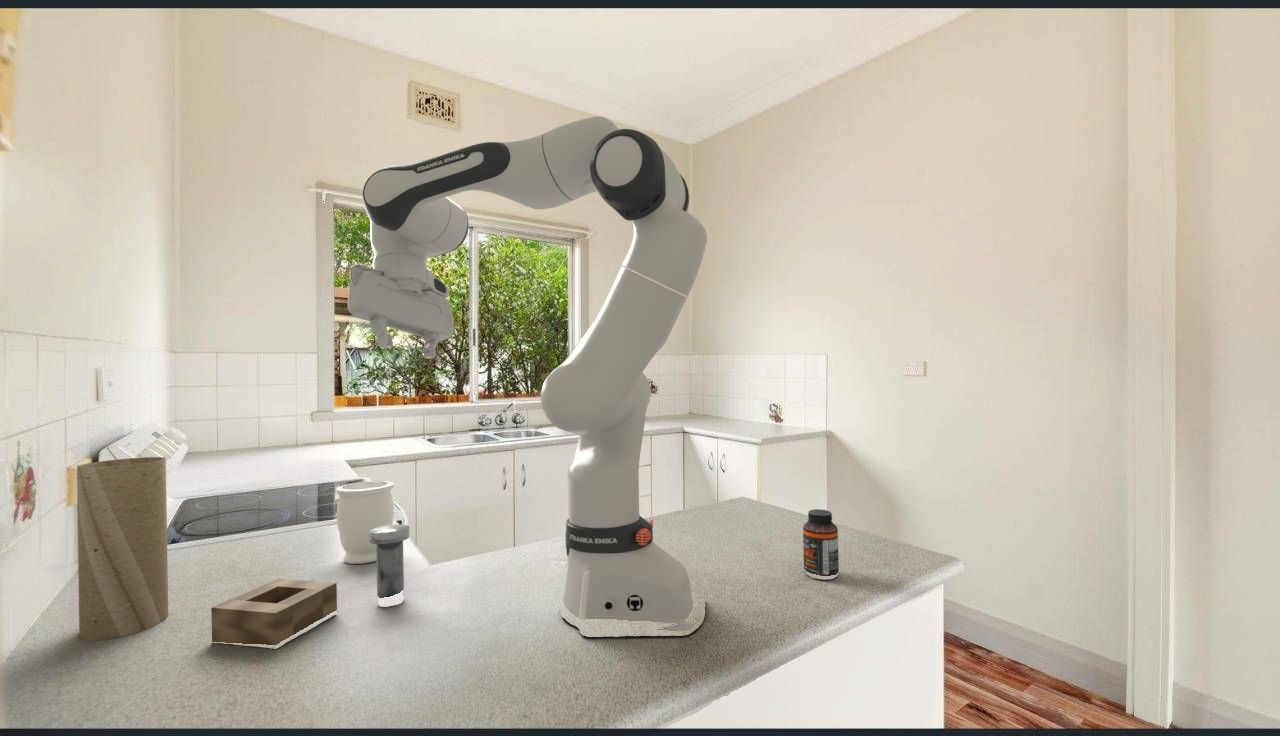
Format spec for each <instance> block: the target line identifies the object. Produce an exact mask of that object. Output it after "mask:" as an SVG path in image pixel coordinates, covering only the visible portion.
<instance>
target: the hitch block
mask: <svg viewBox="0 0 1280 736" xmlns="http://www.w3.org/2000/svg"><path fill="white" fill-rule="evenodd" d="M337 587H338V586H337V582H333V581H332V582H330V581H317V580H315V581H314V580H301V579H286V578H277V579H275V580H272V581H270V582H268V583H265V584H263V585H260V586H258V587H256V588H253V589H252V590H249V591H247V592H245V593H242V594H239V595H238V596H235V597H233V598H230V599H227V600H226V601H224V602H222V603H219V604H216V605H215V606H212V607H210V608H211V611H210V612H211V643H212V642H225V643H242V644H262V645H263V644H266V645H277V644H279V643H280V642H281V641H283V640H285V639H287V638H289V637H290V636H292V635H294V634H296V633H297V632H299V631H300V630H303V629H304V628H306V627H308V626H309V625H311V624H313V623H314V622H316V621H318V620H320V619H322V618H324V617H326V616H327V615H329V614H330V613H332V612H334V611H336V610H337V611H338V589H337Z"/></svg>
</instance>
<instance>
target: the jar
mask: <svg viewBox="0 0 1280 736" xmlns="http://www.w3.org/2000/svg"><path fill="white" fill-rule="evenodd" d="M393 488H394V482H392V481H387V480H385V481H383V480H373V481H372V480H369V481H360V482H353V483H349V484H345V485H341V486H339V487H337V488H336V494H337V495H338V496H339V499H338V501H337V508H336V525H337V530H338V533H339V541H340V544H341V546H342V548H343V550H344V551H345V555H344V557H343V562H344V563H346V564H349V565H350V564H352V565H362V564H370V563H373V562H375V563H376V562H377V553H376V544H372V543H370V542H369V532H370V531H371V530H372V529H375V528H378V527H382V526H387V525H394V517H395V508H394V506H395V505H394V499H393V495H392V492H391V490H392V489H393Z"/></svg>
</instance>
